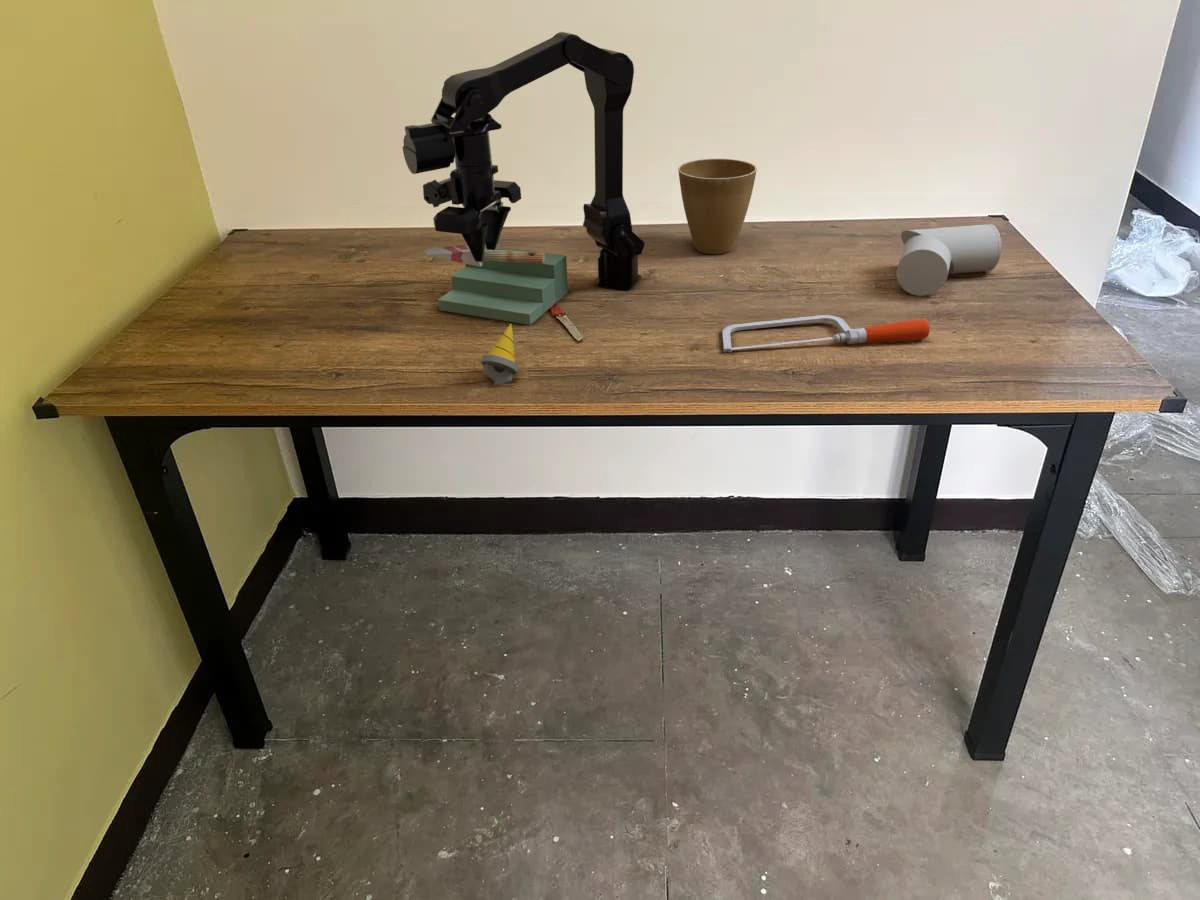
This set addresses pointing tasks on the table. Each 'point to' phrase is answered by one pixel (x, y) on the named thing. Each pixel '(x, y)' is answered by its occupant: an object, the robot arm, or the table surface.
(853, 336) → the hand saw
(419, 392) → the table surface
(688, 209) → the plant pot
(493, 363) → the yellow cone with collar
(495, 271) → the staircase
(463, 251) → the paintbrush
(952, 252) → the l-shaped cylinder
